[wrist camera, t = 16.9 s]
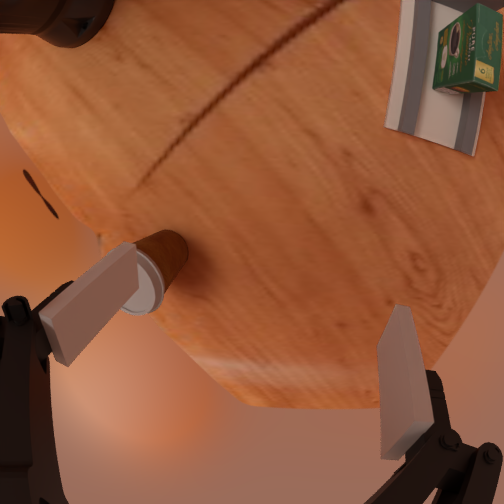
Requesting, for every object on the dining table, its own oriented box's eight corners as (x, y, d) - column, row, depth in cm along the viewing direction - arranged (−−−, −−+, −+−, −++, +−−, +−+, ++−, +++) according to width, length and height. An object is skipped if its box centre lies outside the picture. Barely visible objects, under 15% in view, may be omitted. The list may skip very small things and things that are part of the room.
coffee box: (451, 98, 29) (500, 93, 17) (430, 91, 29) (472, 80, 18) (458, 39, 25) (504, 12, 14) (437, 31, 26) (476, -2, 14)
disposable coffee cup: (134, 245, 50) (87, 278, 40) (165, 206, 46) (116, 235, 35) (174, 287, 51) (136, 329, 41) (210, 253, 47) (172, 294, 36)
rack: (383, 126, 34) (400, 129, 24) (401, -15, 25) (418, -53, 16) (469, 155, 32) (509, 169, 22) (486, 17, 23) (523, -6, 14)
